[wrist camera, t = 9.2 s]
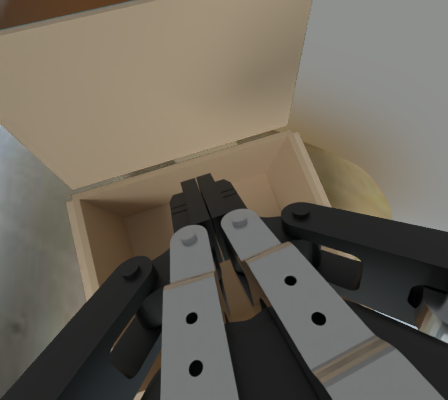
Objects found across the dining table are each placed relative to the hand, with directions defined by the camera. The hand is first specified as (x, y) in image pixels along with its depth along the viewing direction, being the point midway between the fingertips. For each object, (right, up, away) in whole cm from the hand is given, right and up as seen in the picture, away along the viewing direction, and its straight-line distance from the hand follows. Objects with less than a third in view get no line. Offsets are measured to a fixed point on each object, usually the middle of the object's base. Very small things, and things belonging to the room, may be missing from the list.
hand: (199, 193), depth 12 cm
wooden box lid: (-3, +7, +6) cm, 10 cm away
